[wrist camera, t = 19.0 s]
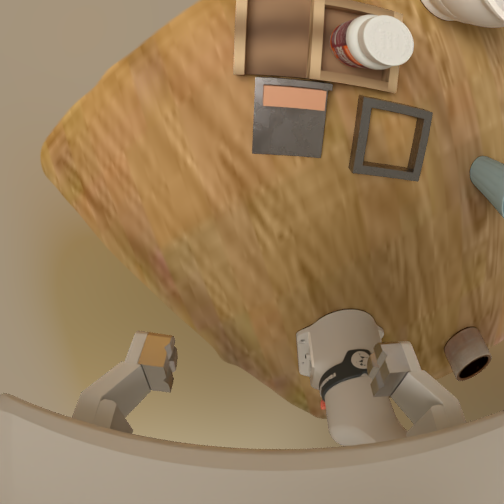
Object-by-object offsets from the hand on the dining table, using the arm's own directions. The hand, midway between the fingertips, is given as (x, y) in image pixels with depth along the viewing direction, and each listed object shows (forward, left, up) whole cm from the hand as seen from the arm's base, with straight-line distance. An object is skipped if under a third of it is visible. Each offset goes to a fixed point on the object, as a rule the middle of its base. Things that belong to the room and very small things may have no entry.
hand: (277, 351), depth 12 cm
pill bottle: (+14, -10, -31) cm, 36 cm away
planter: (-43, -54, -33) cm, 76 cm away
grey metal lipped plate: (+3, -3, -32) cm, 33 cm away
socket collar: (+2, -17, -32) cm, 37 cm away
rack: (+14, -6, -32) cm, 36 cm away
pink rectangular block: (+6, -3, -32) cm, 33 cm away
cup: (0, -36, -32) cm, 49 cm away
